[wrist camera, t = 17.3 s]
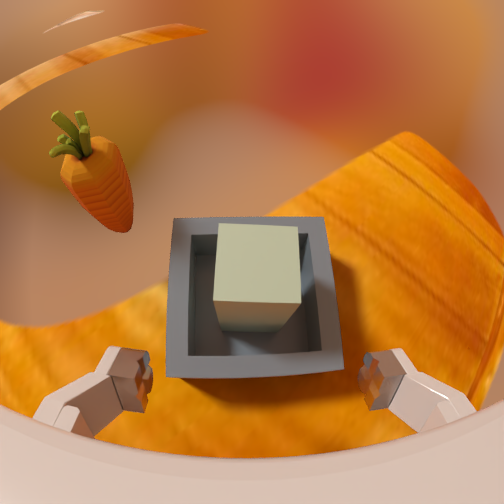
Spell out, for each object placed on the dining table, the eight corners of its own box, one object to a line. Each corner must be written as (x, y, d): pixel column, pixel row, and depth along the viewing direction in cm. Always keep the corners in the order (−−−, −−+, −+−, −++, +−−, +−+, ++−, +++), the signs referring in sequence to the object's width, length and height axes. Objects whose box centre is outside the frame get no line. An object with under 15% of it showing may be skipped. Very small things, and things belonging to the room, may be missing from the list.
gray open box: (179, 378, 22) (165, 376, 17) (183, 246, 27) (173, 218, 23) (323, 372, 23) (344, 369, 18) (309, 244, 28) (323, 217, 23)
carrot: (157, 236, 27) (107, 114, 14) (114, 261, 26) (34, 155, 12) (139, 201, 29) (93, 83, 15) (99, 223, 28) (33, 117, 14)
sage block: (221, 330, 23) (213, 300, 15) (224, 278, 25) (218, 223, 17) (277, 332, 23) (301, 303, 15) (277, 280, 25) (297, 226, 17)
